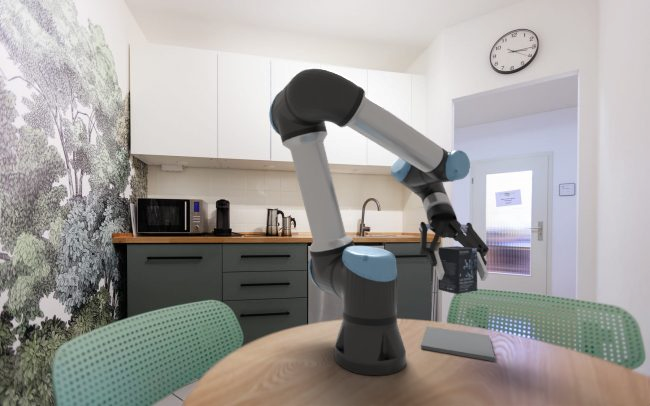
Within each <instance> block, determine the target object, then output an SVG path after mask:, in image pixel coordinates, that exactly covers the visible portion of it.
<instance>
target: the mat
mask: <svg viewBox="0 0 650 406" xmlns="http://www.w3.org/2000/svg"><path fill="white" fill-rule="evenodd" d="M420 347H421V348H420V349H421V350H426V351H432V352H439V353H445V354H449V355H454V356H455V355H456V356H462V357H468V358H472V359H473V358H474V359H479V360H484V361H489V362H490V361H491V362H496V356H495V353H494V352H495V351H494V349H493V344H492V342H491V339H490V335H488V334H484V333H483V334H482V333H476V332H469V331H463V330H462V331H461V330H455V329H449V328H447V329H446V328H440V327H433V326H426V328H425V331H424V335H423V338H422V341H421V344H420Z"/></svg>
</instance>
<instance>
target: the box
mask: <svg viewBox="0 0 650 406" xmlns="http://www.w3.org/2000/svg"><path fill="white" fill-rule="evenodd" d="M438 253H439V257H440V260H441V263H442V266H443V269H444V276H443V278H442V280H439V279H438V278H437V279H438V280H437V281H438V282H437V283H438V285H437V286H438V287H437V288H438V289H437V290H439V291H442V292H446V293H450V294H454V295H461V294H466V293H471V292H478V271H477V248H469V247H464V246H457V245H456V246H438Z"/></svg>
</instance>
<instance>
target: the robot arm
mask: <svg viewBox="0 0 650 406" xmlns="http://www.w3.org/2000/svg"><path fill="white" fill-rule="evenodd" d="M268 116H269V122H270V124H271V127H272V129H273V130H274V131H275V133H277V134H278V135H279V136H280V140H281V143H282V146H283V147H286V148H287V149H288V150H289V151H290V154H291V157H292V162H293V167H294V170H295V174H296V178H297V182H298V186H299V190H300V194H301V198H302V202H303V207H304V210H305V213H306V217H307V221H308V227H309V231H310V233H311V237H312V243H311V245H310V246H309V247H308V249H309V254H310V259H309V261H308V266H307V267H308V276H309V278H310V280H311V281H312V283H313V284H314V285H315V286H316V287H317V288H318V289H319V290H321V291H323V292H325V293H326V294H329V295H333V296H335V297H337V298H339V299H341V300H342V321H341V324H340V328H339V329H338V330H339V331H338V334H337V336H336V337H337V338H336V340H335V343H334V348H333V349H334V350H333V351H334V352H333V353H334V354H333V357H334V361H335V363H337V364H338V366H340V367H342V368H343V369H344V370H347V371H350V372H352V373H355V374H360V375H366V376H367V375H368V376H385V375H392V374H395V373H398V372H399V371H401V370H403V368H405V366H406V364H407V363H406V362H407V351H406V347H405V345H404V340H403V338H402V335H401V332H400V328H399V325H398V271H399V270H398V267H397V259H396V256H395V255H394V253H392V252H391V251H389V250H386V249H384V248H381V247H380V248H379V247H377V246H376V247H372V246H367V245H355V243H354V238H353V237H352V236H350V235H349V234H347V232H346V230H345V226H344V222H343V217H342V214H341V210H340V206H339V202H338V197H337V192H336V188H335V185H334V181H333V177H332V172H331V168H330V164H329V161H328V160H329V159H328V157H327V153H326V152H327V151H326V147H325V145H324V144H325V143H324V142H325V139H326V138H327V136H328V132H327V131H328V130H327V126H326V122H329V123H332V124H334V125H336V126H338V127H339V128H345V127H348V128H350V129H352V130H354V131H355V132H357V133H358V134H360V135H362V136H363V137H365V138H366V139H368V140H370V141H371V142H373V143H375V144H377V145H378V146H379V147H381V148H383V149H385V150H387V151H389V153H392V154H393V155H395V156H396V157H398V158H397V159H395V160H394V162H393V163H392V165H391V168H390V175H391V176H392V177H393V178H394V179H395V180H396V181H397V182H398V183H400V184H401V185H402V186H404V187H405V188H407V189H408V190H410V191H411V192H413V193H414V194H415V195H416V196H418V198H420V200H421V202H422V205H423V209H424V212H425V216H426V219H427V222H428V223H425V221H421V222H420V225H419V228H418V230H419V233H420V243H419V245H420V246H419V255H421V256H424V255H425V256H426V258H427V260H429V264H430V266H431V267H434V269H435V272H436V276H437V279H439V280H442V278H443V276H444V269H443V266H442V263H441V260H440V257H439V250H436V247H437V245H438V242H439V240H440V238H441V239H443V238H444V239H445V238H449V239H453V241H455V242H458V243H459V244H460V245H461V247H469V248H477V274H478V275H479V278H480V281H486V280H487V277H488V276H489V272H488V269H487V268H486V266H487V260H486V258H485V257H486V256H487V255H488V254H487V253H488V252H489V250H490V249H489V247H488V246H487V244H486V243H485V242H484V240H483V239H482V238H481V236H480V235H479V234H478V233H477V231H476V230H474V227H473V225H472V223H471V222H467V223H466V224H462V223H461V222H459V220H458V218H457V214H456V212H455V210H454V208H453V206H452V203H451V200H450V198H449V196H448V193H447V191H446V189H445V187H444V183H448V182H451V183H452V182H455V181H459V180H462V179H464V178H466V177H467V176H468V175H469V174H470V168H471V160H470V159H469V155H468V154H467V153H466V152H465V151H463V150H460V149H459V150H457V149H456V150H450V151H447V150H446V149H444V148H443V147H441V145H438V143H436V142H434V141H433V140H431V139H430V138H428V137H427V136H426V135H424V134H423V133H421V132H419V131H418V130H417V129H415V128H413V127H412V126H411V125H409V124H408V123H406V122H405V121H404V120H402V119H401V118H399V117H398V116H396V115H395V114H393V113H392V112H390V111H389V110H387V109H386V108H385V107H383V106H381V105H380V104H378V103H377V102H376V101H374V100H373V99H371V98H370V97H368V96H367V95H366V90H365V87H363V86H361V85H359V84H358V83H356V82H355V81H353V80H352V79H351V78H349V77H346V76H345V75H343V74H340V73H338V72H336V71H334V70H330V69H325V68H320V67H308V68H305V69H302V70H300V71H299V72H296V73H295V74H294V75H293V76H291V78H290V80H289V81H288V82H287V84H286V85H285V86H284V87H283V89H281V90H280V91H279V92H278V93H277V94H276V95H275V96H274V98H273V100H272V102H271V105H270V108H269V113H268ZM429 230H430V231H432V232H433V233H434V236H433V238H432V241H431V244H430V246H429V247H428V246H427V241H428V232H429Z"/></svg>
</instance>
